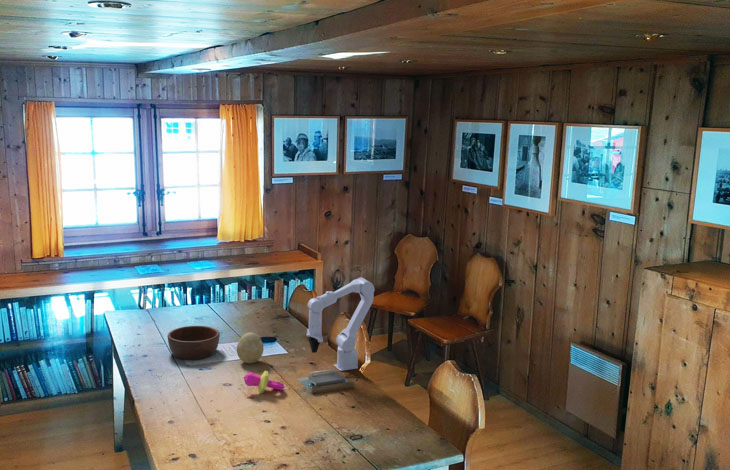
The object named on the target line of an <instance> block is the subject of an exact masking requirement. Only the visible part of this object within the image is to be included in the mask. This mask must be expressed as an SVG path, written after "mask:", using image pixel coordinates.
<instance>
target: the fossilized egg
mask: <svg viewBox="0 0 730 470" xmlns="http://www.w3.org/2000/svg"><path fill="white" fill-rule="evenodd" d="M236 344H237V345H236V354H237V356H238V358H239V359H240V360H241V361H242V362H244V363H245V364H254V363H257V362H258V361H259V360H260V359H261V357H262V356H263V354H264V344H263V341H262V339H261V337H260V336H258V334H256V333H254V332H252V331H251V332H246V333H244V334H243V335H242V336H241V337H240V338H239V340H238V342H237V343H236Z"/></svg>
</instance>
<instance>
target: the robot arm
mask: <svg viewBox="0 0 730 470" xmlns="http://www.w3.org/2000/svg"><path fill="white" fill-rule="evenodd" d="M375 291H376V289H375V287H374V284H373V283H372V282H371V281H369V280H367V279H365V278H364V277H358V278H355V279H353V280H352V281H351V282H349V283H348V284H346V285H344V286H342V287H340V288H338V289H337V290H335V291H332V290H330V291H327V290H326V291H325V293H324V294H322V295H320V296H319V295H318V296H316V297H312V298H310V299H309V301H308V302H307V305H306V306H307V308H308V328H307V329H306V336H307V341H308V342H309V345H310V351H311V353H313V354H315V353H318V350H319V346H320V343H323V342H324V337H323V335H322V312H323V310H324V308H326V307H329V306H331V305H333V304H335V303H337V300H338V299H339V298H342V297H343V296H346V295H348V294H351V293H355V294H356V293H358V294H359V296H360V301H359V302H358V305H357V307H356V309H355V310H354V312H353V314H352V316H351V318H350V320H349V322H348V324H347V326H346V327H345V328H344V329H342V331H341V332H340V333H339V334H337V336H336V338H335V342H336V343H335V344H336V345H338V346H337V352H336V353H337V354H336V355H337V357H336V360H337V361H336V363H335V364H333V366H334V367H335V369H336V370H337V369H338V370H339V371H340V372H343V371H349V370H355V369H359V367H358V365H359V363H358V359H359V354H358V350H357V348H356V347H355V346H356V341H357V333H358V331H359V329H360V327H361V325H362V323H363V321H364V320H365V318H366V315H367V314H368V312H369V310H370V308H371V306H372V304H373V303H374V299H375V298H374V296H375V295H374V292H375Z"/></svg>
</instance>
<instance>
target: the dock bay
mask: <svg viewBox="0 0 730 470" xmlns="http://www.w3.org/2000/svg"><path fill="white" fill-rule="evenodd" d="M339 374H340V375H342V374H341V373H339ZM296 379H297V380H298V382H300V383H301V385H302V386H303V387H304V388H305V389H306V390H307V391H308V392H309V394H311V395H315V394H322V393H326V392H334V391H340V390H347V389H352V388H354V387H355V385H354V384H355V383H354V382H355V381H353V380H350V381H349V380H348V379H347V378H345V382H342V383H334V384H327V385H321V386H317V387H316V386H315V385H314V384H313V383H312V382H311V381H310V380H309V379H308V376H306V377H304V376H303V377H298V378H296Z"/></svg>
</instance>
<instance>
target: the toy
mask: <svg viewBox="0 0 730 470" xmlns="http://www.w3.org/2000/svg"><path fill="white" fill-rule="evenodd" d="M243 379H244V382H245V385H246V386H247V387H257V388H258V394H259V395H262V394H263V393H264V392H265V390H266V388H270V389H274V390H278V391H283V390H284V388H285V385H284V383H282V382H279V381H275V380H271V379H270V378H269V371H268V370H264V371H263V373H262V374H261V376H260V375H259V374H257V373H254V372H251V371H250V372H247V373H246V375H244V377H243Z"/></svg>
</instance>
